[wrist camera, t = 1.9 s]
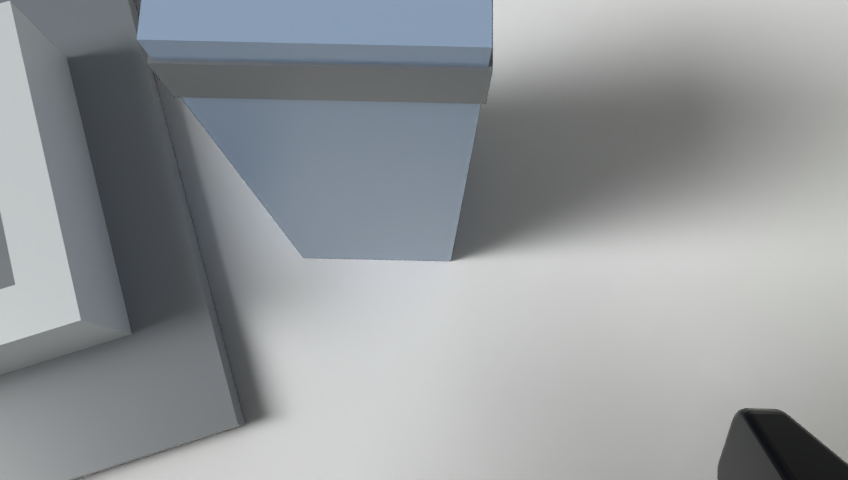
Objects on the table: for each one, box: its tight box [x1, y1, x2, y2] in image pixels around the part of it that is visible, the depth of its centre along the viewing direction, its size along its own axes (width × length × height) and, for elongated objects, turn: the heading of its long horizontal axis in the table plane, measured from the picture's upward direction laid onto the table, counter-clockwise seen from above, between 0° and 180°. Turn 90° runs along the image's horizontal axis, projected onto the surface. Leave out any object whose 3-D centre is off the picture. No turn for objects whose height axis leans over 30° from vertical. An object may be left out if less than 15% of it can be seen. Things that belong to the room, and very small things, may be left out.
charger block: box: [137, 0, 493, 261], centre depth 15 cm, size 4×4×12 cm
